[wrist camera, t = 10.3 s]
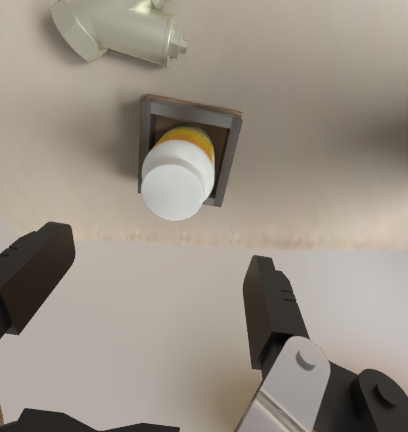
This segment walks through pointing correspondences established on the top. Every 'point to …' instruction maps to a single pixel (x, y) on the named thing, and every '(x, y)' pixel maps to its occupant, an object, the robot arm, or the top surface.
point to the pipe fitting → (119, 29)
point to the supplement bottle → (178, 173)
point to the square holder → (197, 116)
